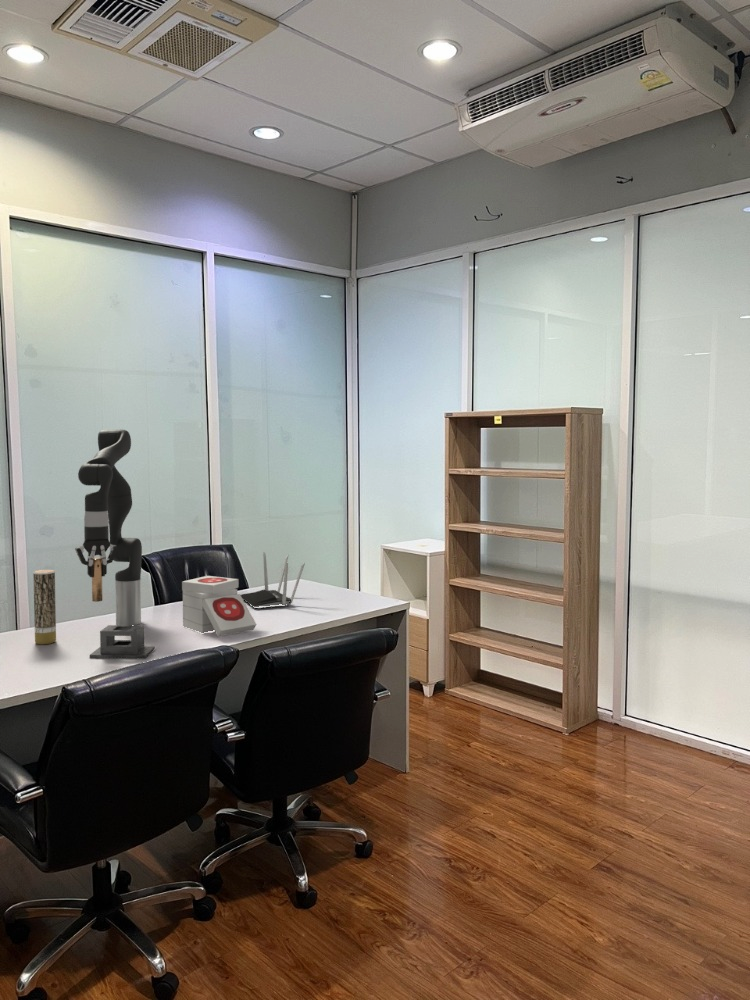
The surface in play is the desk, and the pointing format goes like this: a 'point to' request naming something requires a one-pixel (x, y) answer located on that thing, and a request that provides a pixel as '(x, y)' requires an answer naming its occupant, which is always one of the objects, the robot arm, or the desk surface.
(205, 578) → the stack of pizza boxes
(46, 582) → the bark log
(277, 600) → the wireless router
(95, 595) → the tan wooden rod
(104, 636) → the stand
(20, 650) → the desk surface
